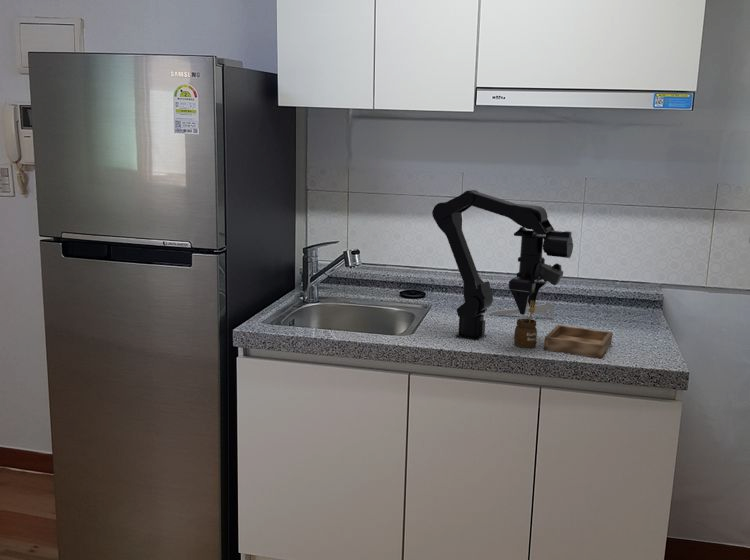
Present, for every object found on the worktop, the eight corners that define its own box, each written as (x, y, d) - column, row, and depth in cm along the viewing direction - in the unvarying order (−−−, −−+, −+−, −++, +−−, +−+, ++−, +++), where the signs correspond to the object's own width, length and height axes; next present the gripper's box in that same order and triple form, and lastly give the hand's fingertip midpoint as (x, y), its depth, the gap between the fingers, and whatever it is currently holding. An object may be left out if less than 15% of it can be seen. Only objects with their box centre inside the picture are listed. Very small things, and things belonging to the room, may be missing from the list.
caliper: (553, 319, 229) (554, 300, 228) (553, 320, 228) (554, 300, 227) (487, 315, 233) (488, 295, 231) (487, 315, 232) (488, 296, 230)
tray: (543, 349, 195) (544, 337, 194) (556, 336, 208) (557, 324, 207) (601, 358, 188) (602, 345, 188) (611, 344, 201) (612, 332, 201)
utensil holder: (509, 345, 198) (512, 302, 196) (521, 341, 203) (524, 299, 200) (529, 350, 194) (532, 306, 192) (540, 345, 199) (543, 302, 197)
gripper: (553, 262, 182) (548, 322, 185) (569, 252, 198) (564, 308, 201) (509, 257, 187) (505, 316, 190) (529, 248, 203) (525, 302, 206)
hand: (527, 310), depth 197 cm, fingers open, 9 cm apart
